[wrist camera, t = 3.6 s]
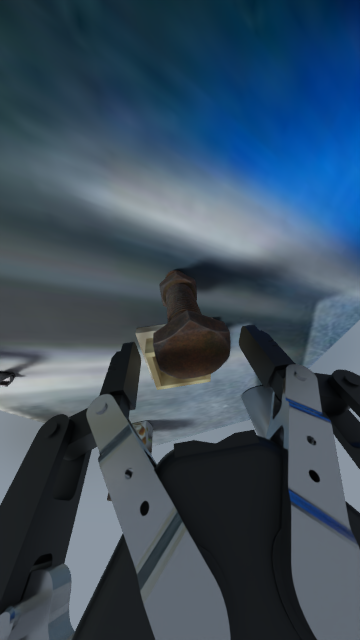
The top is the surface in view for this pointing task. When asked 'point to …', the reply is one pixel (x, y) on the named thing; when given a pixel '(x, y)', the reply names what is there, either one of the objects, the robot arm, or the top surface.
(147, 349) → the board
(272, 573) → the robot arm
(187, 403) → the top surface
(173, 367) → the bolt
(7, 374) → the portable electronic device stand
